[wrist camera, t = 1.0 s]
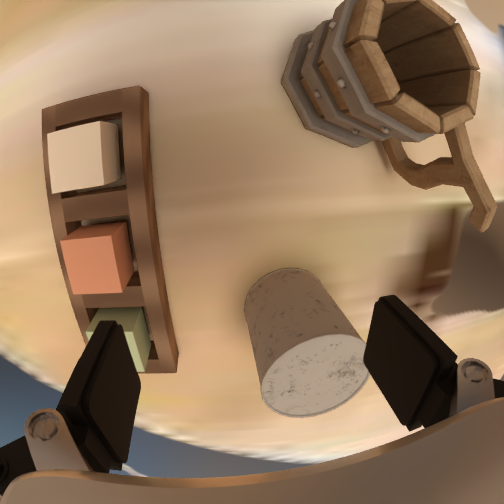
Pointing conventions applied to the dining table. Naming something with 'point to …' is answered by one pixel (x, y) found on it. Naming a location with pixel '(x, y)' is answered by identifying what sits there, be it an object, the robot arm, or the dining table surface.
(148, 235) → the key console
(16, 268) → the dining table surface
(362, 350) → the grey stone cylinder
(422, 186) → the tankard
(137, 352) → the sage key
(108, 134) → the cream key
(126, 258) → the terracotta key
